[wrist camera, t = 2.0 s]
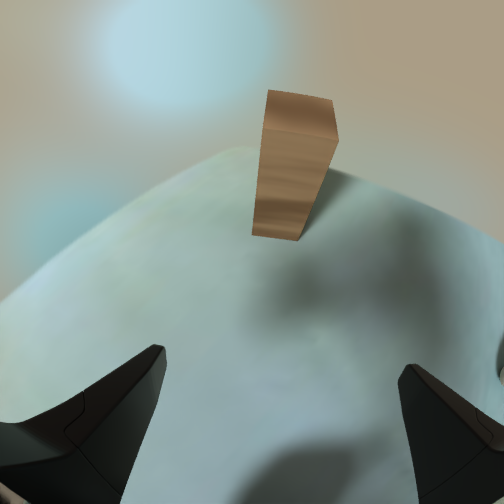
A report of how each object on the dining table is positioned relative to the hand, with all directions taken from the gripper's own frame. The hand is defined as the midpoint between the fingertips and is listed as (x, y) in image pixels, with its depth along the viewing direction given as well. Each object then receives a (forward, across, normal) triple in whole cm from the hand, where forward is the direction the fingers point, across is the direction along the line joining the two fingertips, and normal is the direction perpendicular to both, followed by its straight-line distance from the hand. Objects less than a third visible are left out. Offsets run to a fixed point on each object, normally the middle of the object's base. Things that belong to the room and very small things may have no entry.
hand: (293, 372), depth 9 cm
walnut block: (+20, 0, 0) cm, 20 cm away
